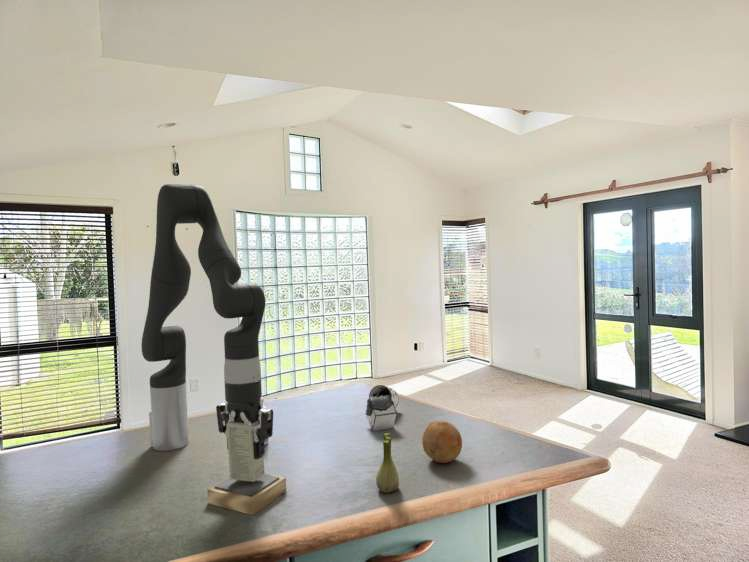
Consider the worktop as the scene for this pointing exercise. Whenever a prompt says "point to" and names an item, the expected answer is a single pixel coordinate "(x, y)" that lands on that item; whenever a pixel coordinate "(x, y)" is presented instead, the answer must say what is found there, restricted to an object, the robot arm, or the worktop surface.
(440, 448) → the onion
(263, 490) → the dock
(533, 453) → the worktop surface
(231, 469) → the skincare box
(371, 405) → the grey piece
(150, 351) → the robot arm
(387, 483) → the fennel bulb
